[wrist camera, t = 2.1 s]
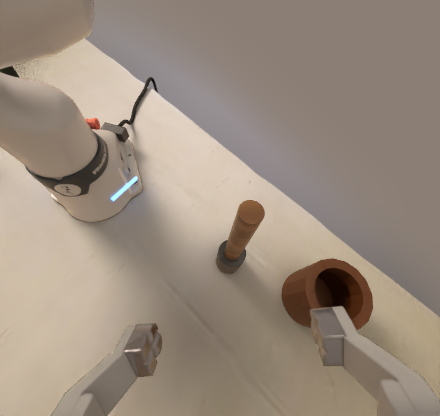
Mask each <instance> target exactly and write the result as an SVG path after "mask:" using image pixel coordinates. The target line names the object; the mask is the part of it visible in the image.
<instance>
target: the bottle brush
mask: <svg viewBox="0 0 440 416" xmlns="http://www.w3.org/2000/svg"><path fill="white" fill-rule="evenodd" d="M264 214H265V213H264V209H263V207H262V205H261V204H259V203H258V202H256V201H253V200H247V201H244V202H243V203H241V204H240V206H239V208H238V211H237V214H236V217H235V220H234V223H233V226H232V229H231V232H230V235H229V238H228V240H226V241H224V242H223V243H222V244H221V245H220V247H219V251H218V255H217V259H216V263H217V266H218V268H219V269H220V270H221V271H222V272H224V273H233V272H235V271H236V270H237V269H238V268H239V267H240V265H241V264H242V263H243V261H244V260H245V257H246V250H245V247H246V245H247V244H248V242H249V241H250V239H251V237H252V236H253V234H254V233H255V231H256V229H257V228H258V226H259V225H260V223H261V221H262V220H263V218H264Z"/></svg>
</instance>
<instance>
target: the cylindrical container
mask: <svg viewBox="0 0 440 416" xmlns="http://www.w3.org/2000/svg"><path fill="white" fill-rule="evenodd" d="M282 300H283V304H284V307H285V309H286V311H287V312H288V314H289V315H290V316H291V317H292V319H294V320H295V321H296V322H297V323H299V324H301V325H303V326H306V327H311V321H312V319H311V316H310V309H317V308H326V307H337V306H342V307H344V309H345V311H346V312H347V314H348V316H349V318H350V319H351V321H352V323H353V324H354V326H355V328H356V330H359V329H360V328H361V327H362V326H364V325H365V324H366V323H367V322H368V321H369V318H370V315H371V312H372V310H373V301H372V293H371V291H370V288H369V286H368V283H367V281H366V280H365V278H364V277H363V276H362V275H361V274H360V272H359V271H358V270H357V269H356V268H354V267H353V266H351V265H349V264H348V263H346V262H345V261H341V260H337V259H326V260H320V261H318V262H316V263H314V264H312V265H310V266H307V267H305V268H303V269H301V270H299V271H296V272H295V273H293V274H292V275H290V276H289V277H288V278H287V279H286V281H285V283H284V285H283V289H282Z"/></svg>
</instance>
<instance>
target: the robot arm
mask: <svg viewBox="0 0 440 416" xmlns="http://www.w3.org/2000/svg"><path fill="white" fill-rule="evenodd" d="M93 21H94V2H93V0H0V69H2V68H6V67H10V66H14V65H17V64H21V63H25V62H28V61H32V60H36V59H40V58H43V57H47V56H51V55H54V54H57V53H59V52H61V51H62V50H64V49H66V48H68V47H70V46H72V45H74V44H75V43H77V42H79V41H80V40H82V39H84V38H85V37H87V36H88V35H90V33H91V30H92V26H93ZM150 81H152V82H153V85H154V89H155V91H156V92H157V93H158V91H157V87H156V83H155V80H154V79H153V78H152V77H150V78H148V79H147V81H146V84H145V87H144V89H143V91H142V92H141V94H140V95H139V97H138V99H137V100H136V102H135V104H134V107H133V110H132V115H131V119H130V121H128V120H123V121H122V122H120V123H119V125H118V126H117V125H113V124H109V123H104V125H103V126H102V128H101V129H100V124H99V121H98V119H97V118H93V119H85V118H84V117H83V115H82V113H81V112H80V110H79V108H78V107H77V105H76V103H75V102H74V101H73V100H72V99H71V98H70V97H69V96H68V95H67V94H65V93H64V92H62V91H61V90H59V89H57V88H55V87H53V86H51V85H49V84H47V83H44V82H41V81H36V80H30V79H24V78H18V77H13V76H9V75H6V74H4V73H1V72H0V147H1V148H3V149H4V150H5V151H7V152H8V153H10V154H11V155H12V156H14V157H15V158H16V159H18V160H19V161H20V162H21V163H23V164H24V165H25V167H26V169H27V170H28V172H29V173H30V174H32V176H33V177H34V178H35V179H37V180H38V181H40V182H41V183H42V184H43V185H44V186H45V187H46V188H47V189H48V191H49V192H50V193H51V197H52V199H53V200H55V201H56V202H58V203H60V204H62V205H63V206H64V207H65V209H66V210H67V211H68V213H69V214H70V215H72V216H73V217H75V218H76V219H79V220H82V221H87V222H95V221H101V220H105V219H108V218H110V217H112V216H114V215H116V214H117V213H118V212H120V211H121V210H122V209H123V208H124V207H125V206H126V205H127V203H128V202H129V201H130V199H131V198H132V197H134V196H136V195H137V194H139V193H140V192H141V191H142V189H143V186H142V182H141V178H140V174H139V170H138V166H137V162H136V158H135V154H134V150H133V146H132V143H131V142H130V140H128V137H129V134H128V132H127V130H126V128H125V127H122V126H123V125H124V124H125V123H127V124H132V122H133V120H134V117H135V112H136V108H137V106H138V104H139V102H140V100H141V98H142V97H143V95H144V94H145V92H146V90H147V87H148V85H149V82H150ZM91 129H93V130H91ZM134 183H137V184H134ZM310 316H311V319H312V321H311V329H312V334H313V337H314V340H315V343H316V344H317V345H318V351H319V355H320V357H321V360H322V363H323V366H343V367H344V368H345V369H346V370H347V371H348V372H349V373H350V374H351V375H352V376H353V377H354V378H355V379H356V380H357V381H358V382H359V383H360V384H361V385H362V386H363V387H364V388H365V389H366V390H367V391H368V392H369V393H370V394H371V395H372V396H373V397H374V398H375V399H376V400H377V401H378V408H377V416H440V400H439V398H438V397H437V395H436V394H435V393H434V391H433V390H432V389H431V387H430V386H429V384H428V383H427V382H426V380H425V379H424V378H423V377H422V376H421V375H420V374H418V373H417V372H415V371H414V370H412V369H411V368H410V367H408V366H407V365H405V364H404V363H402V362H401V361H399V360H398V359H397V358H395V357H394V356H392V355H391V354H389V353H388V352H386V351H385V350H384V349H382V348H381V347H379V346H378V345H376V344H375V343H373V342H372V341H371V340H369V339H368V338H366V337H365V336H360V335H359V333H358V331H357V330H356V328H355V326H354V324H353V323H352V321H351V319H350V318H349V316H348V314H347V312H346V311H345V309H344V307H342V306H337V307H326V308H317V309H310ZM157 330H158V327H157V325H156V324H137V325H129V326H128V327H127V328H126V329H125V331H124V333H123V335H122V337H121V339H120V340H119V342H118V344H117V346H116V348H115V350H114V352H113V354H109V355H108V356H107V357H106V358H105V359H103V360H102V361H101V362H100V363H99V364H98V365H97V366H95V367H94V368H93V369H92V370H91V371H90V372H89V373H87V374H86V375H85V376H84V377H83V378H82V379H81V380H79V381H78V382H77V383H76V384H75V385H74V386H73V387H71V388H70V389H69V390H68V391H67V392H66V393H65V394H64V395H63V397H62V398H61V400H60V402H59V403H58V405H57V406H56V408H55V410H54V411H53V413H52V414H51V416H107V415H108V414H109V413H110V412H111V410H112V409H113V408H114V407H115V405H116V404H117V403H118V402H119V400H120V399H121V398H122V397H123V395H124V394H125V393H126V392H127V390H128V389H129V388H130V387H131V385H132V384H133V383H134V382H135V380H136V379H137V377H144V376H153V373H154V370H155V367H156V364H157V360H156V357H157V356H158V355H159V354H160V352H161V349H162V337H161V334H160V333H158V332H157Z"/></svg>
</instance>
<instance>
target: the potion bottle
mask: <svg viewBox="0 0 440 416" xmlns="http://www.w3.org/2000/svg"><path fill="white" fill-rule="evenodd" d="M0 72H1V73H4V74H6V75H9V76H13V77H18V78H20V77H19V76H18V74H17V73H16V71H15V70H14V68H13V67H12V66H10V67H6V68H2V69H0Z"/></svg>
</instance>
